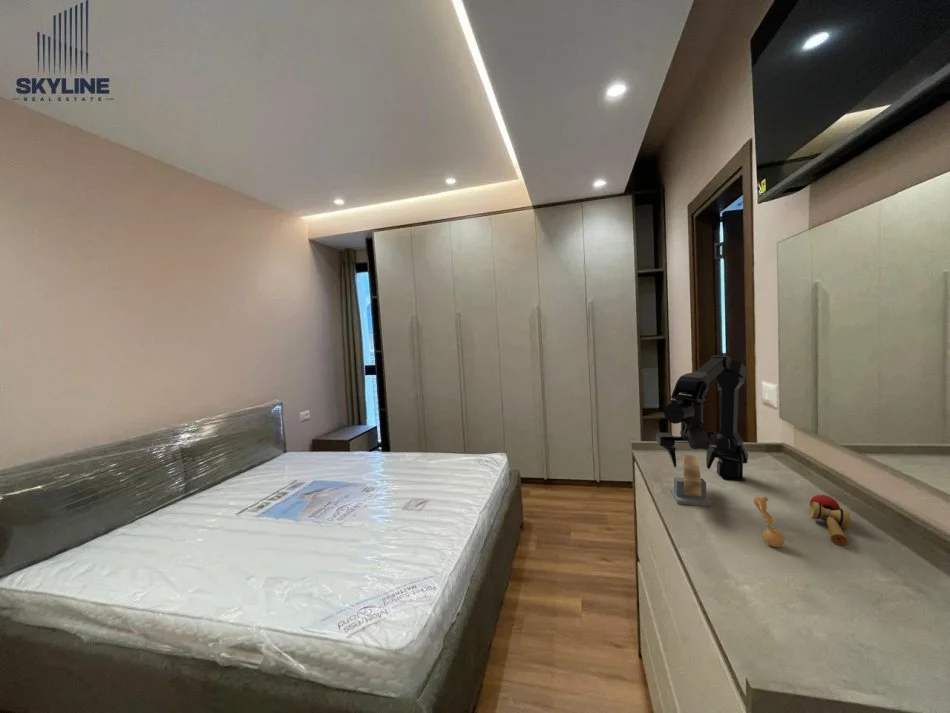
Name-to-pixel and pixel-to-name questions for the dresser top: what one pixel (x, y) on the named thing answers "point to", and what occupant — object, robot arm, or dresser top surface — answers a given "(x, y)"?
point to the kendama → (831, 517)
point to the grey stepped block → (684, 498)
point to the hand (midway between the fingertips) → (691, 467)
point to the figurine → (770, 534)
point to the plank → (691, 475)
